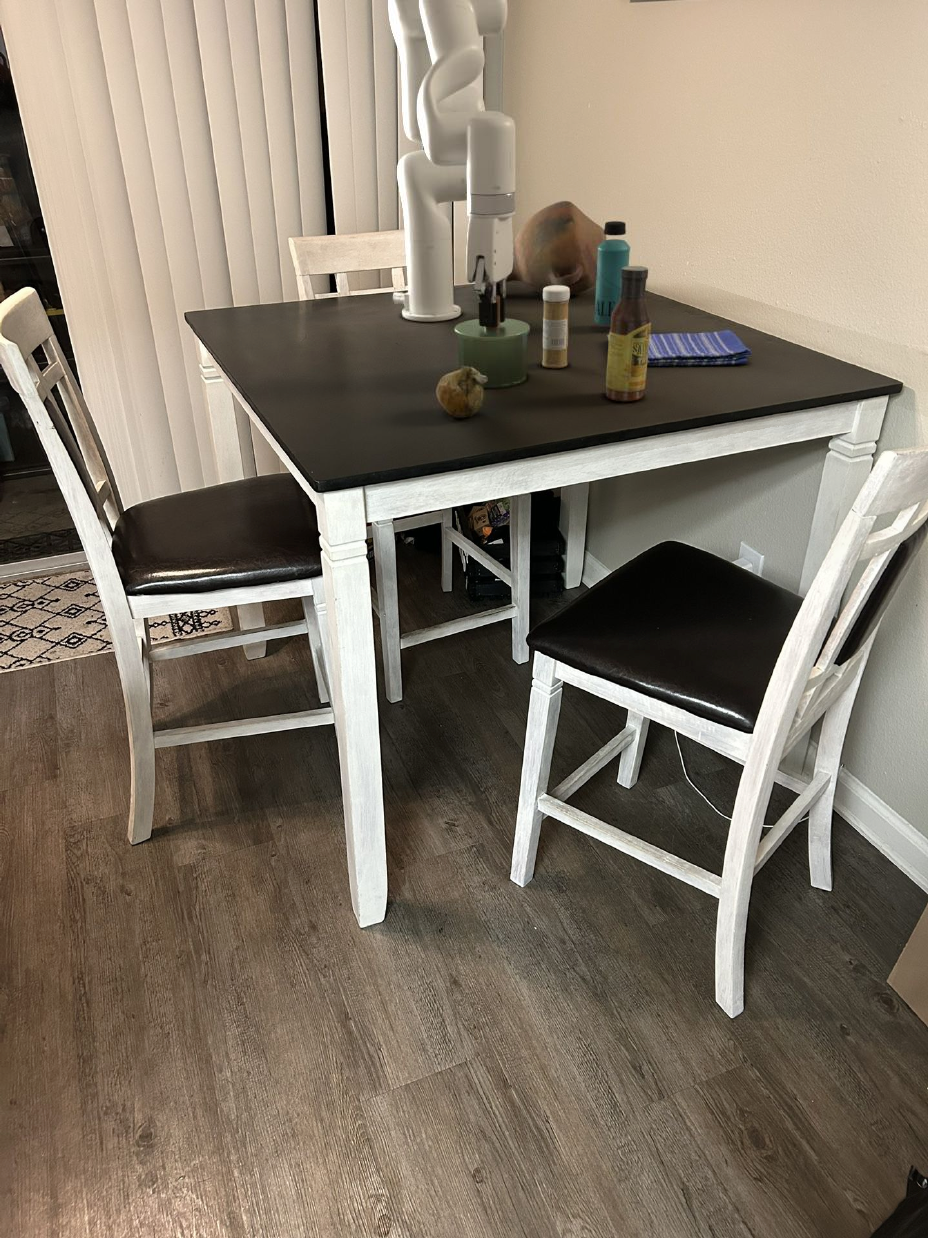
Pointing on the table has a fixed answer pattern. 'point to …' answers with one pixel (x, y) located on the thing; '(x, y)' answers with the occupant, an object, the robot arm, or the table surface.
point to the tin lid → (492, 329)
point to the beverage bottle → (610, 272)
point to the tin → (495, 360)
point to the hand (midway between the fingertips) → (492, 322)
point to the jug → (557, 249)
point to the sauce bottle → (629, 338)
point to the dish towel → (696, 349)
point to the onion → (461, 392)
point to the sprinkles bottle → (555, 326)
